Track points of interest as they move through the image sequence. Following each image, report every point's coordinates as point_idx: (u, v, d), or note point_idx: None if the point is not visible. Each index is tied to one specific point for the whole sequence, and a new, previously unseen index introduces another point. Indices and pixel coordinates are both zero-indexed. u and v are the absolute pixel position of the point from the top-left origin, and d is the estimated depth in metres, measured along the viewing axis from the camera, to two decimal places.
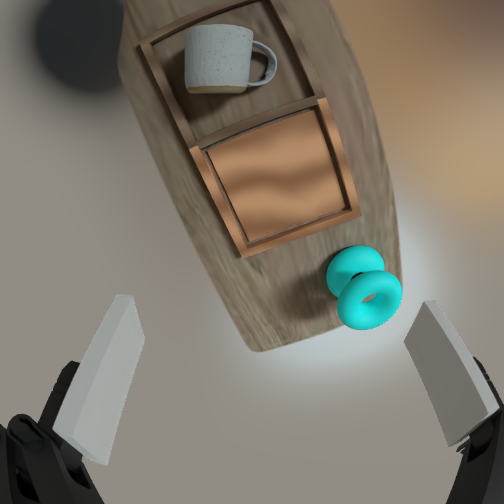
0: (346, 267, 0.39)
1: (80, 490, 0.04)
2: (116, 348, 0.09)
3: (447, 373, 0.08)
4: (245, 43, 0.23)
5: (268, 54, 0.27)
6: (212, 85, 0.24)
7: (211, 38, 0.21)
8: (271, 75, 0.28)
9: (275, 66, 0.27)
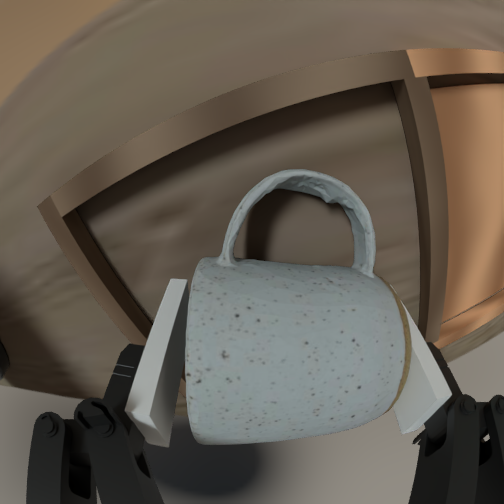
0: None
1: (144, 480, 0.05)
2: (177, 328, 0.10)
3: None
4: (259, 343, 0.07)
5: None
6: (386, 409, 0.08)
7: (244, 439, 0.08)
8: (342, 191, 0.10)
9: (311, 175, 0.10)
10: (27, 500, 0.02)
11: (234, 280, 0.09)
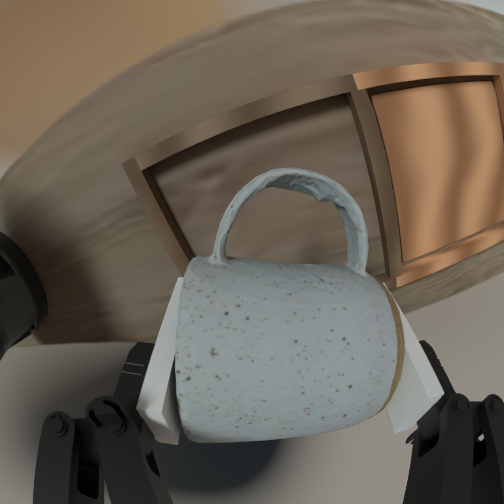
0: None
1: (154, 479, 0.05)
2: None
3: None
4: (248, 341, 0.07)
5: None
6: (379, 409, 0.08)
7: (235, 437, 0.08)
8: (334, 189, 0.10)
9: (302, 174, 0.10)
10: (34, 500, 0.03)
11: (224, 278, 0.09)
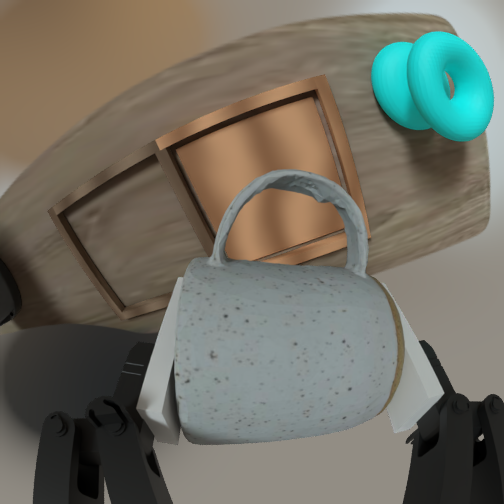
0: (402, 104, 0.20)
1: (154, 479, 0.05)
2: None
3: None
4: (247, 344, 0.07)
5: None
6: (379, 411, 0.08)
7: (235, 439, 0.08)
8: (334, 190, 0.10)
9: (302, 175, 0.10)
10: (33, 499, 0.03)
11: (224, 280, 0.09)
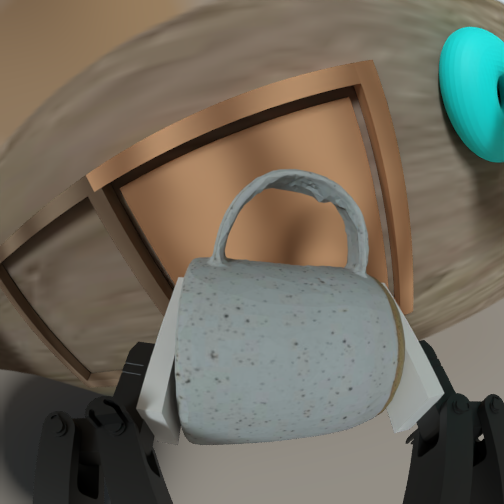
0: (487, 124, 0.10)
1: (154, 479, 0.05)
2: None
3: None
4: (248, 343, 0.07)
5: None
6: (379, 411, 0.08)
7: (235, 439, 0.08)
8: (335, 190, 0.10)
9: (303, 175, 0.10)
10: (34, 500, 0.03)
11: (224, 280, 0.09)
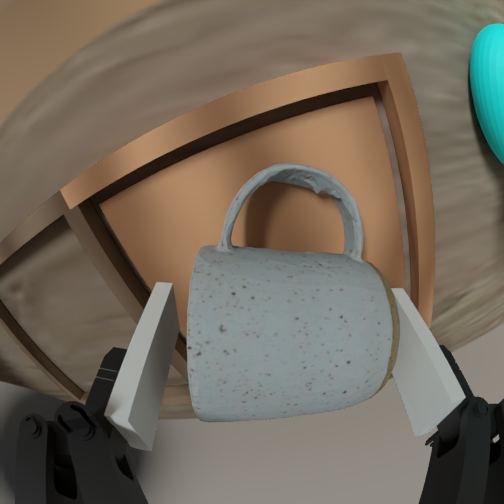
0: None
1: (126, 482, 0.05)
2: (161, 332, 0.10)
3: (411, 360, 0.09)
4: (253, 318, 0.08)
5: None
6: (378, 388, 0.09)
7: (242, 414, 0.09)
8: (330, 182, 0.11)
9: (301, 168, 0.11)
10: (15, 501, 0.02)
11: (231, 263, 0.10)
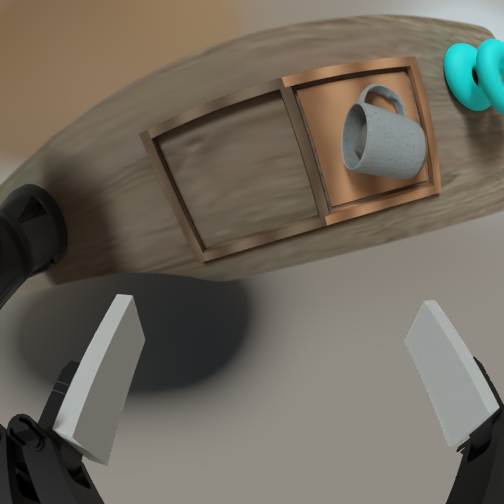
0: (467, 87, 0.21)
1: (80, 490, 0.04)
2: (116, 348, 0.09)
3: (447, 373, 0.08)
4: (383, 113, 0.22)
5: (369, 90, 0.25)
6: (424, 155, 0.23)
7: (383, 147, 0.22)
8: (393, 93, 0.24)
9: (383, 86, 0.24)
10: None
11: None
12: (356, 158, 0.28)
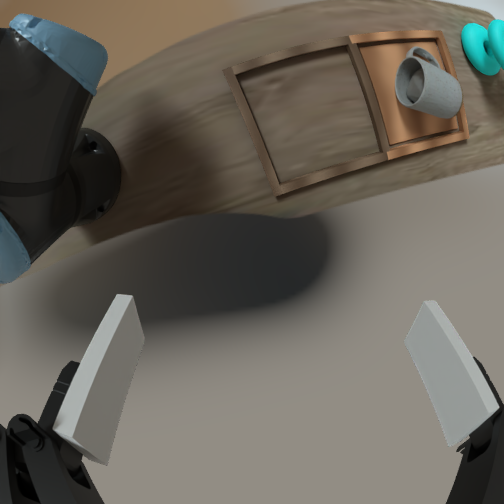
0: (481, 56, 0.22)
1: (80, 490, 0.04)
2: (116, 348, 0.09)
3: (447, 373, 0.08)
4: (430, 64, 0.22)
5: (413, 51, 0.25)
6: (461, 97, 0.23)
7: (435, 87, 0.22)
8: (430, 54, 0.25)
9: (423, 49, 0.24)
10: None
11: None
12: (408, 101, 0.29)
